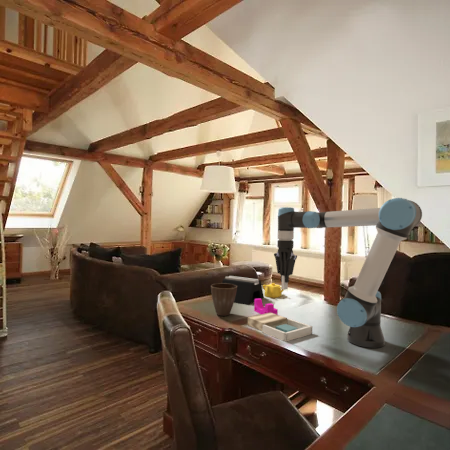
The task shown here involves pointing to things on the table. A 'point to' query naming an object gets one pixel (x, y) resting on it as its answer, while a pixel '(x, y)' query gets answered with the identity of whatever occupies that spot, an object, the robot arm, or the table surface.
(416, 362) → the table surface
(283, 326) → the teal rectangular block
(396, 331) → the table surface
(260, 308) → the magenta notched bracket
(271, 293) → the teapot
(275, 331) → the box
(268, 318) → the plate
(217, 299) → the plant pot
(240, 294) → the device stand
